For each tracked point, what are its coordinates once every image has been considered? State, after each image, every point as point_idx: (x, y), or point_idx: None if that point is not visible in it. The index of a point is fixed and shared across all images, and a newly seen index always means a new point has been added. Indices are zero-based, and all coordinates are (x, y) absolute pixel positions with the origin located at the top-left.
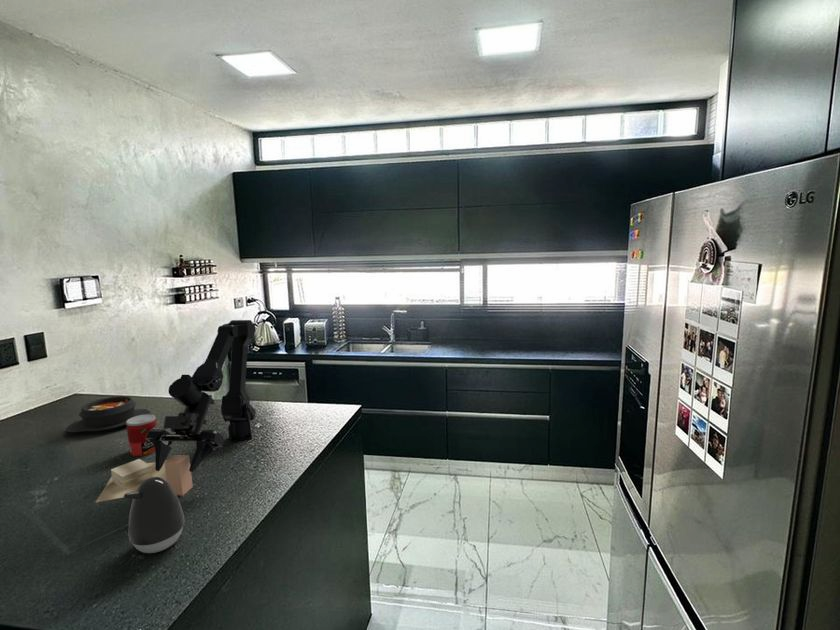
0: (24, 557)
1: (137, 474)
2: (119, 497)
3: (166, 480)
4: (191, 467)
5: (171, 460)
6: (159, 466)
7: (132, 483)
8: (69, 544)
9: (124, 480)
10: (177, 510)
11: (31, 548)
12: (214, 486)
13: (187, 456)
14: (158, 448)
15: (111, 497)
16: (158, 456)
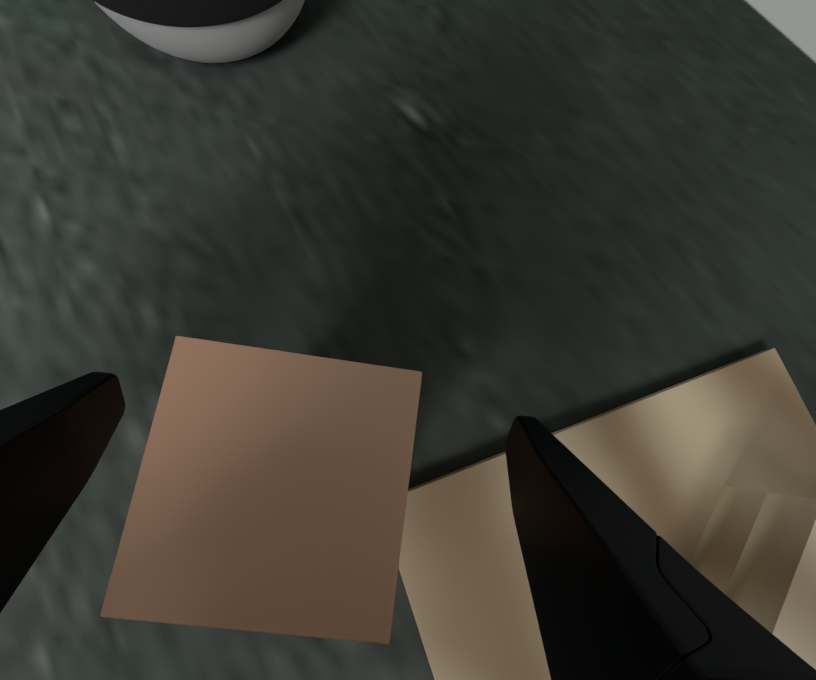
0: (721, 23)
1: (750, 592)
2: (680, 391)
3: (512, 611)
4: (66, 387)
5: (337, 419)
6: (521, 463)
7: (718, 538)
8: (619, 67)
9: (779, 503)
10: None
11: (746, 66)
12: (101, 536)
13: (115, 562)
14: (750, 675)
15: (728, 394)
16: (609, 528)
